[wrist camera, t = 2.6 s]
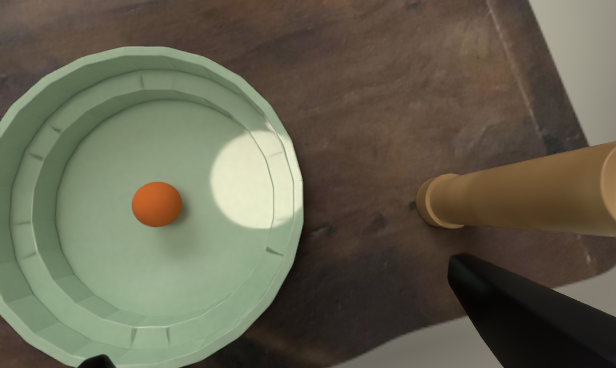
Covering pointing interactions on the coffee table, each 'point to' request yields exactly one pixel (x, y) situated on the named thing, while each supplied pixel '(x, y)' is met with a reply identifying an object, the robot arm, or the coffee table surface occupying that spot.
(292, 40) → the coffee table surface
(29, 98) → the bowl
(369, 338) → the coffee table surface
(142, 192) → the ball
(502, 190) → the tan wooden cylinder
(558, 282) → the coffee table surface
